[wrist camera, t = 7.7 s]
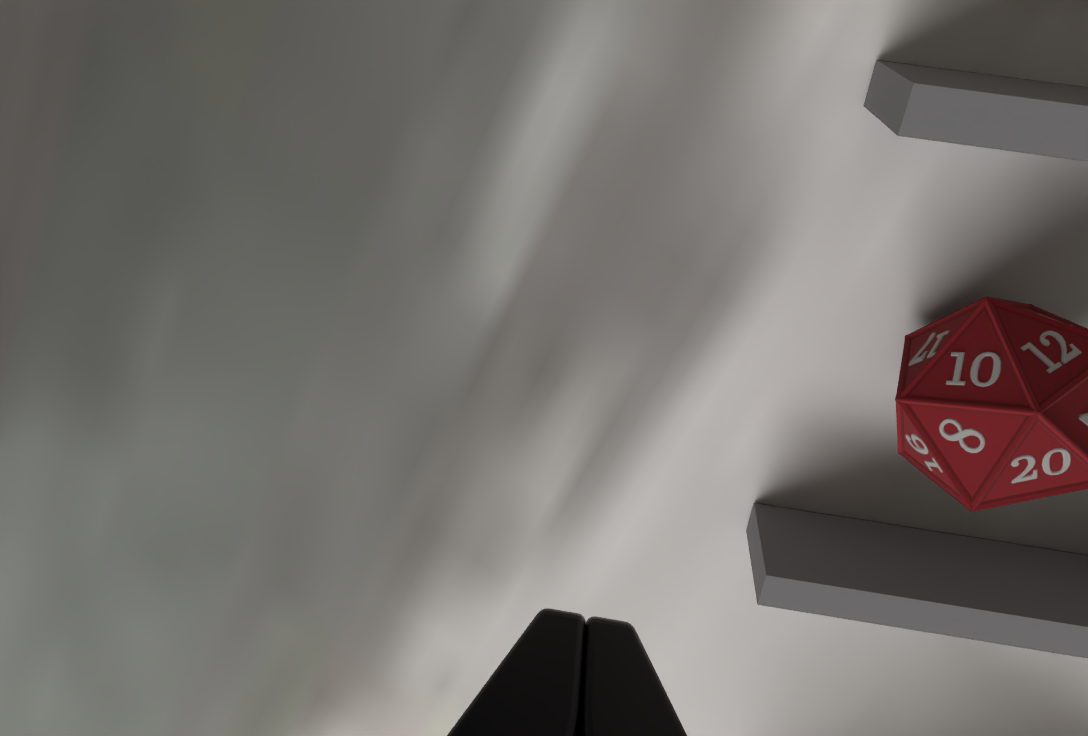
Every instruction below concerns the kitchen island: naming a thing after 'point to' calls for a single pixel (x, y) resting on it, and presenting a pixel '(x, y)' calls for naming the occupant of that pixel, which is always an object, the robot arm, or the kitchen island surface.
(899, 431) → the dice
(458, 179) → the kitchen island surface
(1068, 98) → the dice pen
